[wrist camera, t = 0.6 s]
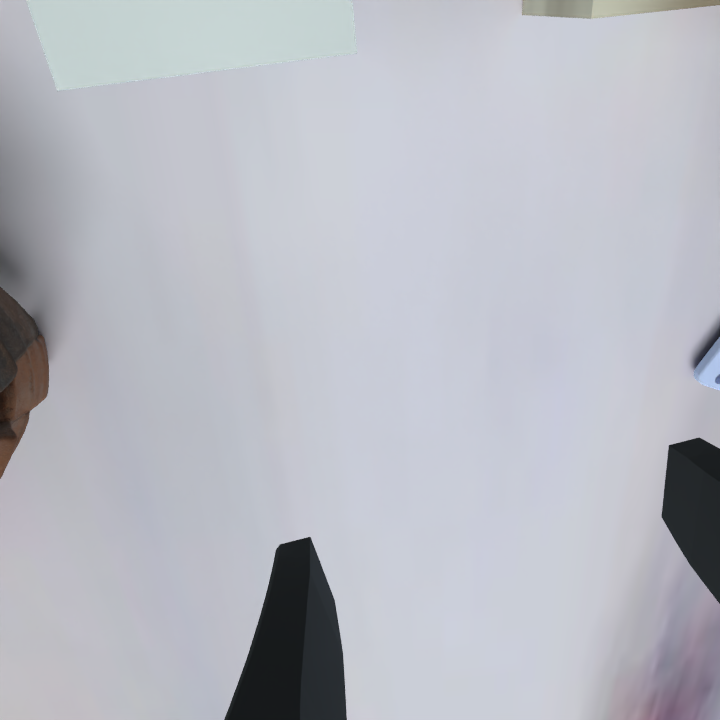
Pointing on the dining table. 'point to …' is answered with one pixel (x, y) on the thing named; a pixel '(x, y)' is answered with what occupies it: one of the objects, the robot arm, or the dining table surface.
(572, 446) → the dining table surface
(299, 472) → the dining table surface
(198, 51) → the one-dot block
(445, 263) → the dining table surface
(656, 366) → the dining table surface
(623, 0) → the maple block
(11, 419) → the rusty brown arched frame
